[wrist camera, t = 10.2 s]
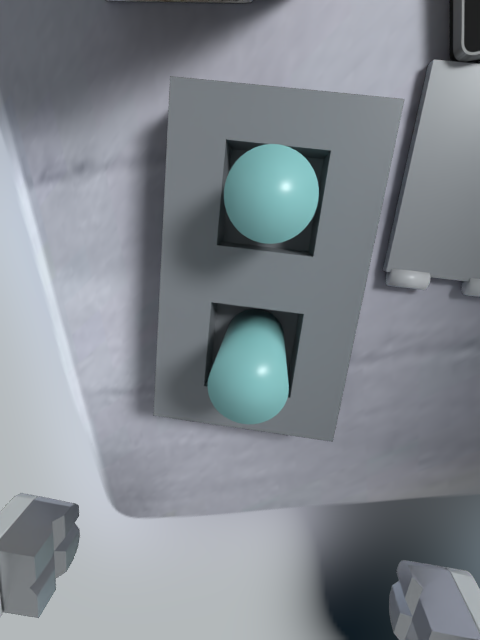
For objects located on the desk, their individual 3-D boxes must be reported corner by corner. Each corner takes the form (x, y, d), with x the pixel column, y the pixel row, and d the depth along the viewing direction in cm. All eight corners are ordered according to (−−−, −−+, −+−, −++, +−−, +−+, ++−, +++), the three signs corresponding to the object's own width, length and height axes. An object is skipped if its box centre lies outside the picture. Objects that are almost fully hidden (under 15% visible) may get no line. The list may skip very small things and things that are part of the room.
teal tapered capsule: (287, 312, 25) (294, 356, 18) (279, 366, 26) (282, 429, 19) (229, 305, 25) (211, 345, 18) (224, 359, 26) (204, 418, 19)
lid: (570, 78, 21) (587, 70, 20) (500, 297, 25) (511, 301, 24) (427, 65, 21) (436, 56, 20) (379, 283, 25) (385, 286, 24)
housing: (381, 118, 22) (404, 99, 19) (324, 410, 28) (332, 441, 24) (187, 99, 23) (170, 76, 19) (169, 388, 29) (153, 415, 25)
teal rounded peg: (308, 171, 23) (326, 149, 15) (298, 237, 24) (310, 248, 16) (243, 164, 23) (228, 139, 15) (236, 230, 24) (219, 238, 16)
